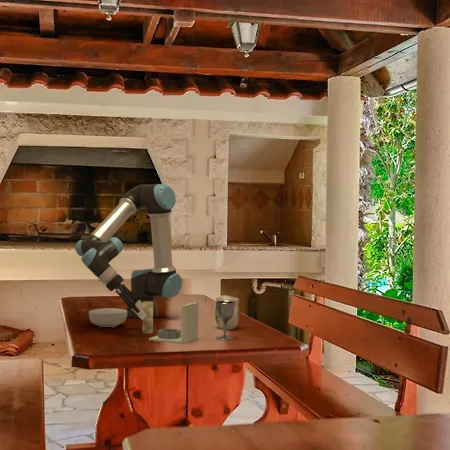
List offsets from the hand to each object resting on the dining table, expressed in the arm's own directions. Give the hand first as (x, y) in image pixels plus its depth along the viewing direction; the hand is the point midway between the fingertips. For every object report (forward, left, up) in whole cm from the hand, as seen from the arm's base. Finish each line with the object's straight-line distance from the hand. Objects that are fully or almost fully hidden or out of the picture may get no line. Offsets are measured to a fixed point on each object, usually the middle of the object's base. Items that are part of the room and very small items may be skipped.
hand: (146, 315), depth 294 cm
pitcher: (+26, +27, -8) cm, 38 cm away
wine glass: (+34, +5, -8) cm, 36 cm away
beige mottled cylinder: (0, +1, -7) cm, 8 cm away
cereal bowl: (-23, +6, -8) cm, 25 cm away
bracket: (+17, -8, -7) cm, 21 cm away
